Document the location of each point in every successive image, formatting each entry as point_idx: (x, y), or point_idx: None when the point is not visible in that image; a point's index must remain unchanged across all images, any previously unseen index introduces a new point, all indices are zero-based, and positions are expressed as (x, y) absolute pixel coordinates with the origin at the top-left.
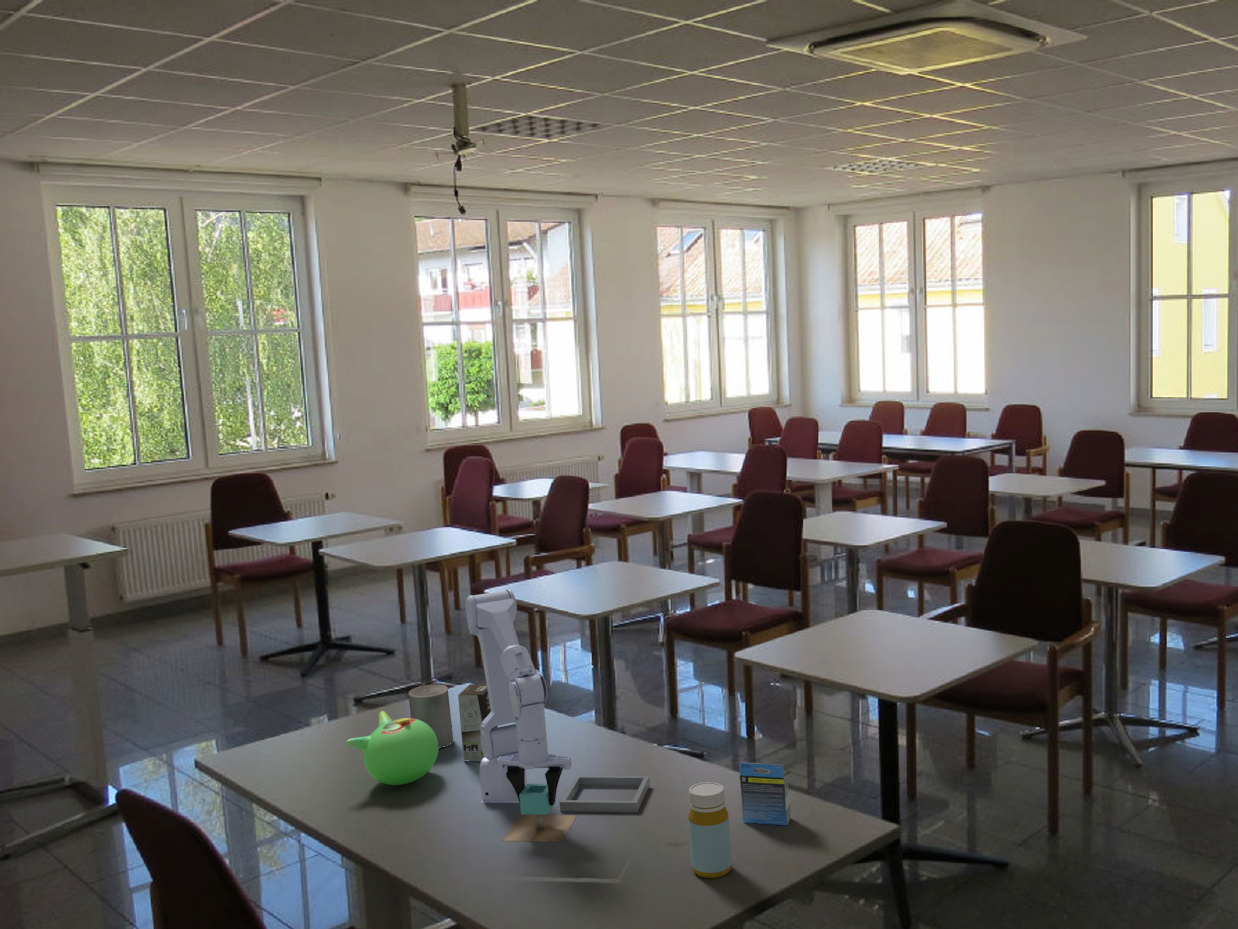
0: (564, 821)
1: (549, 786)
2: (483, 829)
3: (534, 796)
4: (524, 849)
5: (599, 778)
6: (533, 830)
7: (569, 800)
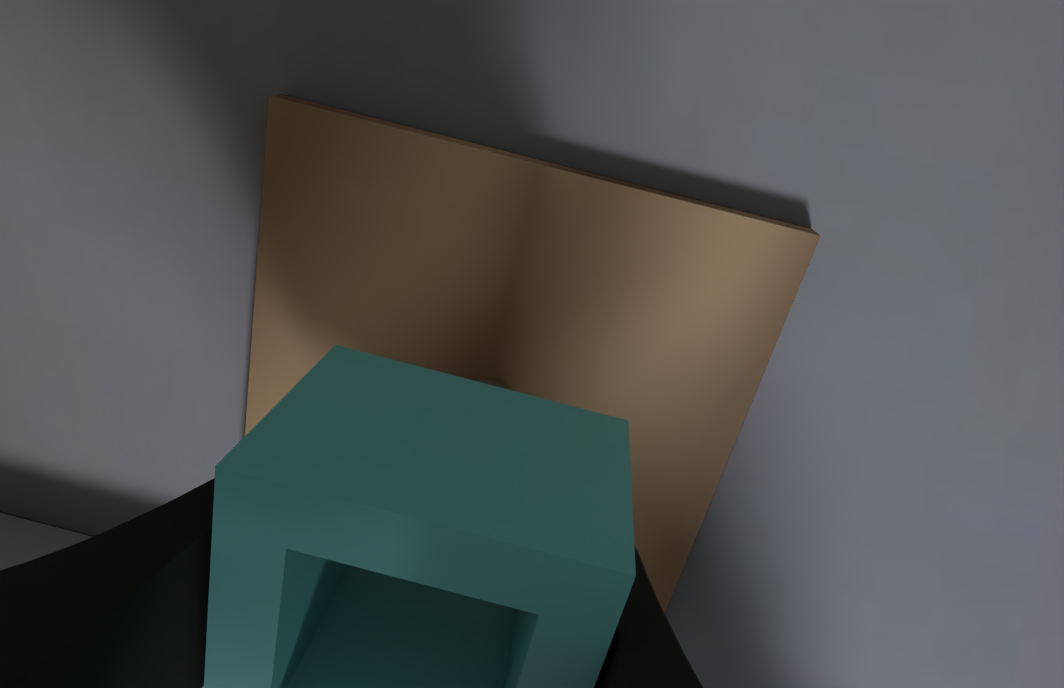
0: None
1: (96, 583)
2: (939, 524)
3: (405, 500)
4: (606, 68)
5: None
6: (536, 374)
7: None
